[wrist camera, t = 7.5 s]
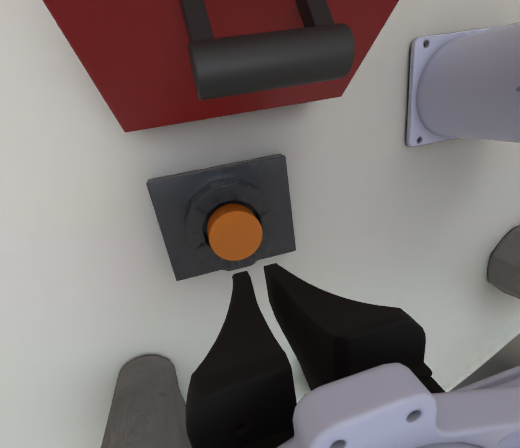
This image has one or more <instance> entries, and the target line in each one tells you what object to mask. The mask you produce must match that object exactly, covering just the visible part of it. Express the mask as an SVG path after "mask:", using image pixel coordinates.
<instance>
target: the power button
mask: <svg viewBox="0 0 520 448" xmlns="http://www.w3.org/2000/svg"><path fill="white" fill-rule="evenodd" d="M207 234H208V238H209V243H210V246H211V248H212V250H213V251H214V252H215V253H216V254H217V255H218V256H219V257H221V258H223V259H226V260H230V261H237V260H242V259H245V258H247V257H249V256H250V255H252V254H253V253H254V252H255V251H256V250H257V249H258V247H259V245H260V243H261V240H262V227H261V224H260V223H259V221H258V219H257V218H256V217H255V215H254V214H253V213H252V211H251V210H250V209H248V208H247V207H245V206H243V205H240V204H227V205H224V206H221V207H220V208H218V209H217V210H215V211H214V212H213V214H212V215H211V216H210V218H209V220H208V224H207Z"/></svg>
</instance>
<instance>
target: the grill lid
mask: <svg viewBox="0 0 520 448" xmlns="http://www.w3.org/2000/svg"><path fill="white" fill-rule="evenodd" d="M398 1H399V0H43V2H44V3H45V5H46V7H47V8H48V10H49V11H50V13H51V15H52V16H53V18H54V19H55V21H56V23H57V24H58V26H59V27H60V29H61V31H62V32H63V34H64V35H65V37H66V39H67V40H68V42H69V43H70V45H71V47H72V48H73V50H74V52H75V53H76V55H77V56H78V58H79V60H80V61H81V63H82V64H83V66H84V68H85V69H86V71H87V72H88V74H89V76H90V77H91V79H92V80H93V82H94V84H95V85H96V87H97V88H98V90H99V92H100V93H101V95H102V96H103V98H104V100H105V101H106V103H107V104H108V106H109V108H110V109H111V111H112V112H113V114H114V116H115V117H116V119H117V120H118V122H119V124H120V125H121V127H122V128H123V130H124V132H131V131H137V130H143V129H149V128H155V127H161V126H167V125H173V124H179V123H185V122H191V121H197V120H203V119H209V118H215V117H221V116H227V115H233V114H239V113H245V112H251V111H257V110H263V109H269V108H275V107H281V106H287V105H293V104H299V103H305V102H311V101H317V100H323V99H329V98H335V97H340V96H342V94H343V93H344V91H345V89H346V88H347V86H348V84H349V83H350V81H351V79H352V78H353V76H354V74H355V73H356V71H357V69H358V68H359V66H360V64H361V63H362V61H363V59H364V58H365V56H366V54H367V53H368V51H369V49H370V48H371V46H372V44H373V43H374V41H375V39H376V38H377V36H378V34H379V33H380V31H381V29H382V28H383V26H384V24H385V23H386V21H387V19H388V18H389V16H390V14H391V13H392V11H393V9H394V8H395V6H396V4H397V3H398Z"/></svg>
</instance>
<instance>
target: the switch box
mask: <svg viewBox="0 0 520 448" xmlns="http://www.w3.org/2000/svg"><path fill="white" fill-rule="evenodd" d="M147 187H148V190H149V193H150V196H151V200H152V203H153V206H154V209H155V213H156V216H157V219H158V222H159V226H160V229H161V232H162V235H163V239H164V242H165V245H166V248H167V252H168V255H169V258H170V261H171V265H172V268H173V271H174V274H175V277H176V280H177V281H179V280H183V279H187V278H191V277H195V276H198V275H202V274H206V273H210V272H214V271H218V270H227V271H231V270H235V269H239V268H243V267H247V266H251V265H253V264H254V263H255V262H256V261H257V260H260V259H264V258H268V257H272V256H276V255H280V254H284V253H288V252H291V251H295V250H296V247H295V238H294V229H293V220H292V211H291V202H290V193H289V184H288V175H287V166H286V157H285V156H284V155H282V154H277V155H272V156H266V157H261V158H256V159H251V160H246V161H241V162H236V163H231V164H226V165H221V166H215V167H210V168H205V169H200V170H195V171H190V172H185V173H180V174H175V175H169V176H164V177H159V178H154V179H149V180H148V182H147ZM227 204H240V205H243V206H245V207H247V208H248V209H250V210H251V211H252V213H253V214H254V215H255V217H256V218H257V219H258V221H259V223H260V224H261V227H262V240H261V243H260V245H259V247H258V249H257V250H256V251H255V252H254V253H253V254H252V255H250V256H249V257H247V258H245V259H242V260H237V261H230V260H226V259H223V258H221V257H219V256H218V255H217V254H216V253H215V252H214V251H213V250H212V248H211V246H210V243H209V238H208V234H207V224H208V220H209V218H210V216H211V215H212V214H213V212H214V211H215V210H217V209H218V208H220V207H221V206H224V205H227Z"/></svg>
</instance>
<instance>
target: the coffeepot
mask: <svg viewBox="0 0 520 448" xmlns="http://www.w3.org/2000/svg"><path fill="white" fill-rule="evenodd" d="M488 278H489V282H490V283H491V284H492V285H494V286H495V287H497V288H498V289H500V290H501V291H502V292H504V293H506V294H509V295H512V296H514V297H517V298H519V299H520V226H518V227H516V228H515V229H513V230H512V231H510V232H509V233H508V234H507V235H506V236H505V237H504V238H503V239H502V240H501V241H500V243H499V244H498V245H497V247H496V248H495V250H494V252H493V254H492V256H491V258H490V261H489V265H488Z"/></svg>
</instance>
